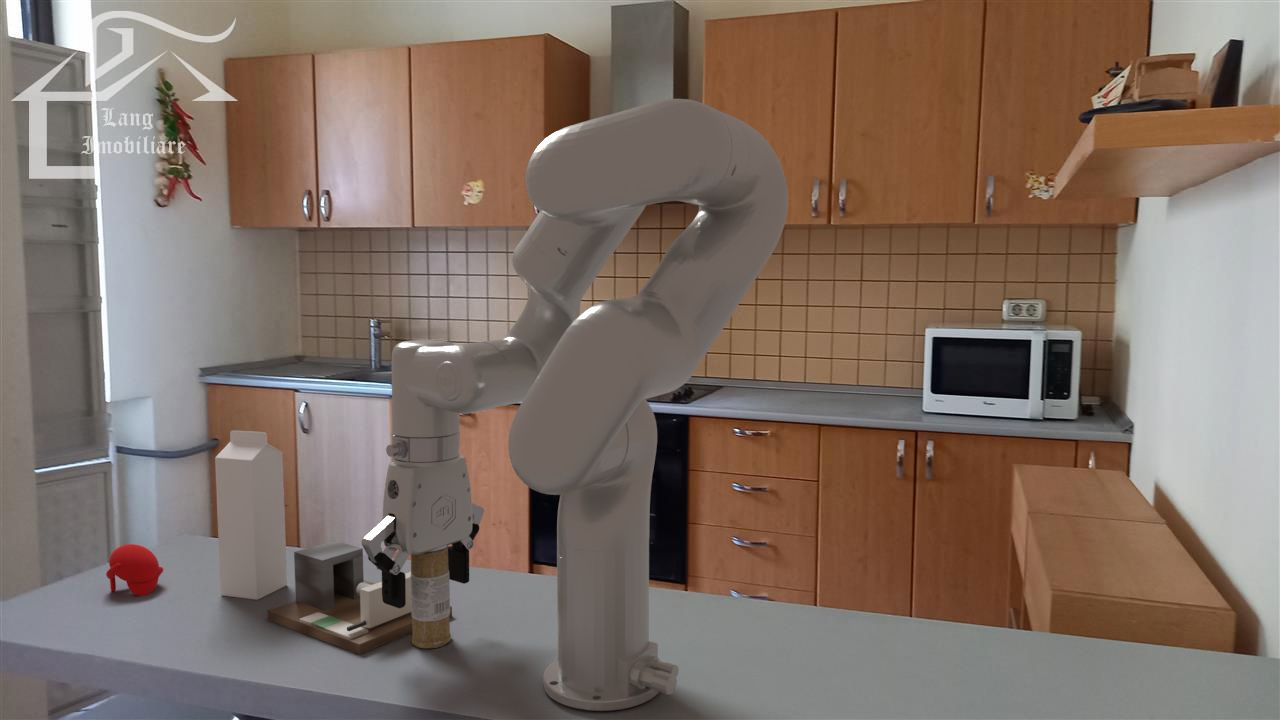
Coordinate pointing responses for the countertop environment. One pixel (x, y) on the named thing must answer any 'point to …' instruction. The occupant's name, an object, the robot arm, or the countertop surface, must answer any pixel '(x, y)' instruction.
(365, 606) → the spring plunger
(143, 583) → the cap
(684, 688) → the countertop surface
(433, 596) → the sprinkles bottle
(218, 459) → the milk
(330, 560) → the gauge frame
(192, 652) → the countertop surface
